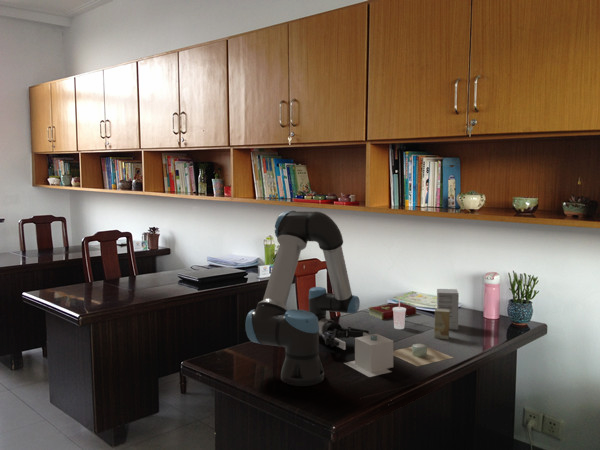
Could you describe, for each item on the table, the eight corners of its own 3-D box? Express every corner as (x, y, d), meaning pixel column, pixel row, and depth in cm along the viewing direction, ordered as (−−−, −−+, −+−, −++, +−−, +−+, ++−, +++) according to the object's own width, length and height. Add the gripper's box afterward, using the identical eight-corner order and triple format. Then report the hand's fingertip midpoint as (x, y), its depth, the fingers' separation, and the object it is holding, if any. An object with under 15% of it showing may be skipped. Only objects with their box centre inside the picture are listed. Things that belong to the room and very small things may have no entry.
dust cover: (371, 372, 192) (371, 342, 191) (354, 364, 200) (354, 334, 199) (393, 367, 197) (393, 337, 195) (376, 359, 205) (376, 330, 204)
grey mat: (369, 378, 188) (369, 377, 188) (343, 364, 202) (343, 363, 202) (405, 369, 195) (405, 368, 195) (378, 356, 209) (378, 355, 209)
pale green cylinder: (418, 358, 205) (419, 349, 205) (409, 354, 210) (409, 345, 210) (430, 355, 208) (430, 346, 208) (420, 351, 213) (420, 342, 213)
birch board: (417, 367, 197) (417, 366, 197) (386, 353, 213) (386, 352, 213) (453, 359, 206) (453, 357, 206) (421, 346, 221) (421, 344, 221)
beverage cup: (401, 330, 243) (401, 300, 242) (389, 328, 247) (390, 298, 246) (408, 327, 248) (408, 297, 246) (396, 325, 252) (397, 295, 250)
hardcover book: (416, 315, 270) (416, 306, 270) (382, 320, 261) (382, 312, 260) (401, 309, 281) (401, 301, 281) (368, 315, 271) (368, 307, 271)
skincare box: (433, 338, 231) (434, 310, 230) (433, 335, 235) (434, 308, 234) (449, 339, 229) (449, 311, 228) (449, 336, 233) (449, 309, 232)
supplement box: (458, 330, 243) (459, 293, 241) (437, 329, 245) (437, 292, 243) (456, 324, 252) (457, 288, 251) (436, 323, 254) (436, 288, 252)
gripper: (354, 333, 231) (385, 347, 213) (303, 342, 219) (332, 358, 200) (354, 316, 230) (385, 328, 212) (303, 324, 218) (331, 338, 200)
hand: (359, 343), depth 206 cm, fingers open, 13 cm apart
